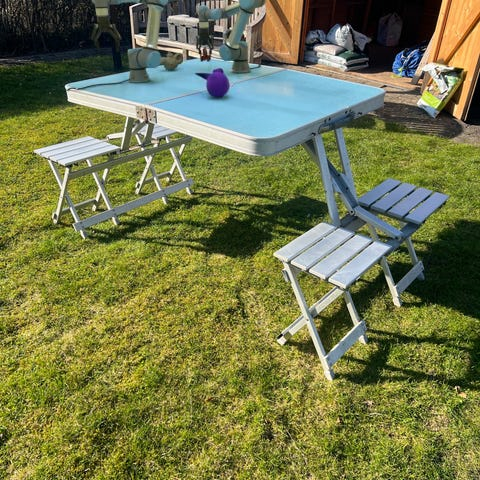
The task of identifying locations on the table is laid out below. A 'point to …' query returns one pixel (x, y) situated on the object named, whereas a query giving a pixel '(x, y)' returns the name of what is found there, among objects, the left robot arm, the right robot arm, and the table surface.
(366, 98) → the table surface
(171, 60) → the teapot
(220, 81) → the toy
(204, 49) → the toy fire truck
